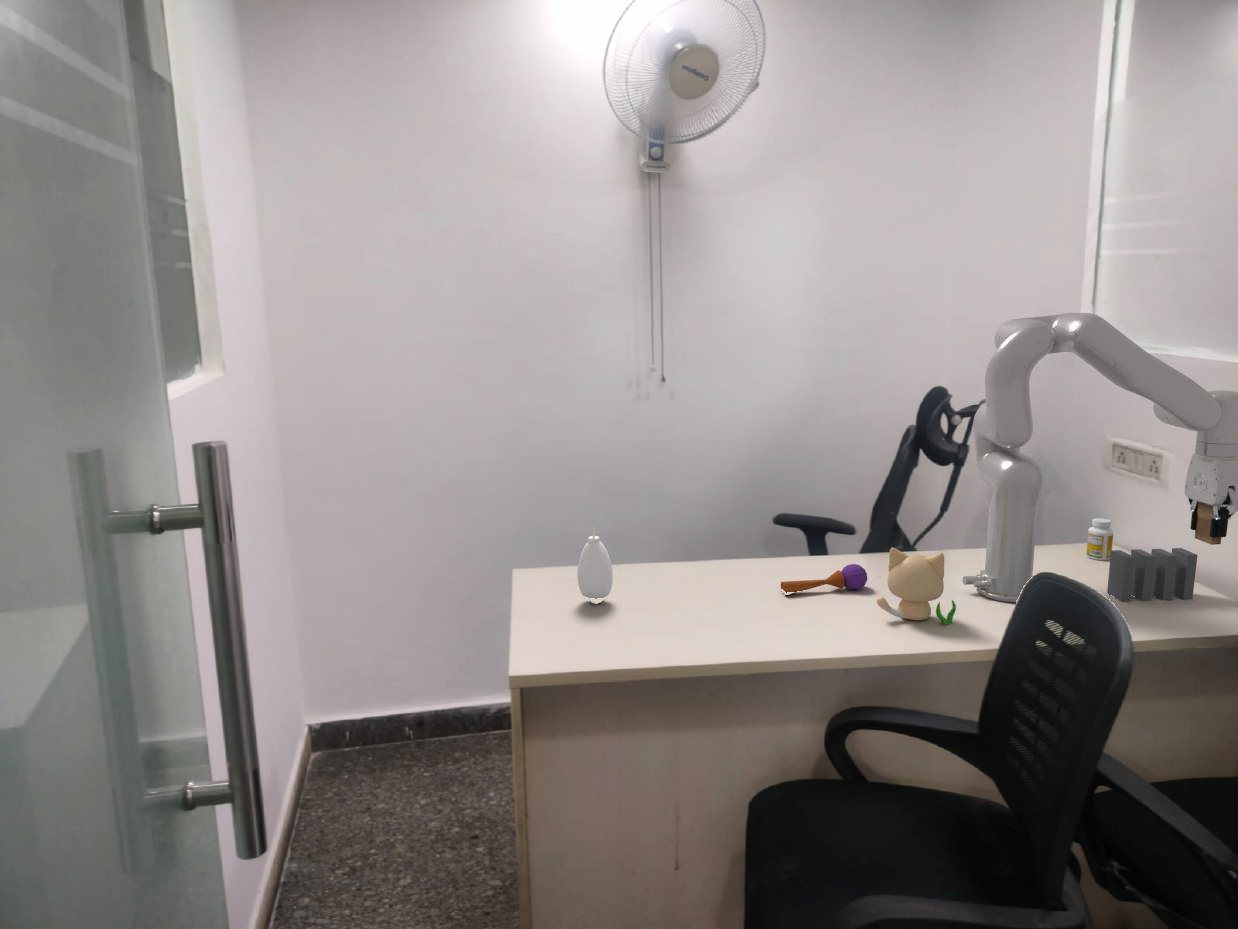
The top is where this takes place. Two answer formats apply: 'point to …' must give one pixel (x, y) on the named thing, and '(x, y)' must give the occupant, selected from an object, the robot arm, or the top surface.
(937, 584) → the kitten
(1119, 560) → the domino
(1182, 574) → the domino
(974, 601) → the top surface
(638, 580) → the top surface
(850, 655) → the top surface
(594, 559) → the white tall oval piece
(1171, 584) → the domino
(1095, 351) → the robot arm
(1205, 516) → the domino
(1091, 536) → the supplement bottle
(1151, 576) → the domino
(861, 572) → the kendama
